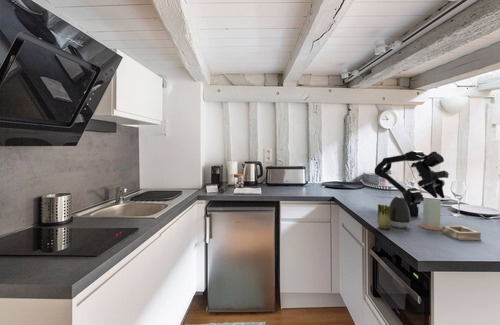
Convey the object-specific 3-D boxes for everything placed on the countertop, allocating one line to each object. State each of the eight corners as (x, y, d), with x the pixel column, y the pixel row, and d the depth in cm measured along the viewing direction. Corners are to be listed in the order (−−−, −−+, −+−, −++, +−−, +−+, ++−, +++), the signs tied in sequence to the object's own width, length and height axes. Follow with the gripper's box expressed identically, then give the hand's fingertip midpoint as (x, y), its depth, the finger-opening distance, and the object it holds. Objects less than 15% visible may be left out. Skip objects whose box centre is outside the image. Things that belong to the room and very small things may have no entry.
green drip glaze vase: (375, 226, 117) (376, 203, 117) (385, 226, 117) (386, 203, 116) (382, 230, 112) (382, 206, 111) (392, 230, 111) (393, 206, 111)
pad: (417, 227, 115) (418, 226, 115) (419, 222, 122) (419, 220, 122) (444, 232, 108) (444, 230, 108) (444, 226, 116) (444, 224, 116)
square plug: (422, 223, 118) (423, 198, 118) (433, 223, 117) (434, 198, 117) (428, 226, 113) (429, 200, 113) (439, 227, 112) (440, 200, 112)
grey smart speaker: (406, 223, 121) (407, 194, 120) (413, 230, 111) (414, 199, 110) (384, 222, 124) (385, 194, 123) (389, 228, 114) (389, 198, 113)
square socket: (442, 232, 108) (442, 225, 108) (461, 231, 108) (461, 225, 108) (459, 240, 99) (459, 233, 99) (480, 239, 99) (480, 232, 99)
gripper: (433, 162, 117) (451, 191, 110) (447, 165, 127) (464, 192, 120) (411, 172, 125) (426, 199, 118) (425, 174, 135) (440, 200, 128)
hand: (440, 197), depth 121 cm, fingers open, 9 cm apart
